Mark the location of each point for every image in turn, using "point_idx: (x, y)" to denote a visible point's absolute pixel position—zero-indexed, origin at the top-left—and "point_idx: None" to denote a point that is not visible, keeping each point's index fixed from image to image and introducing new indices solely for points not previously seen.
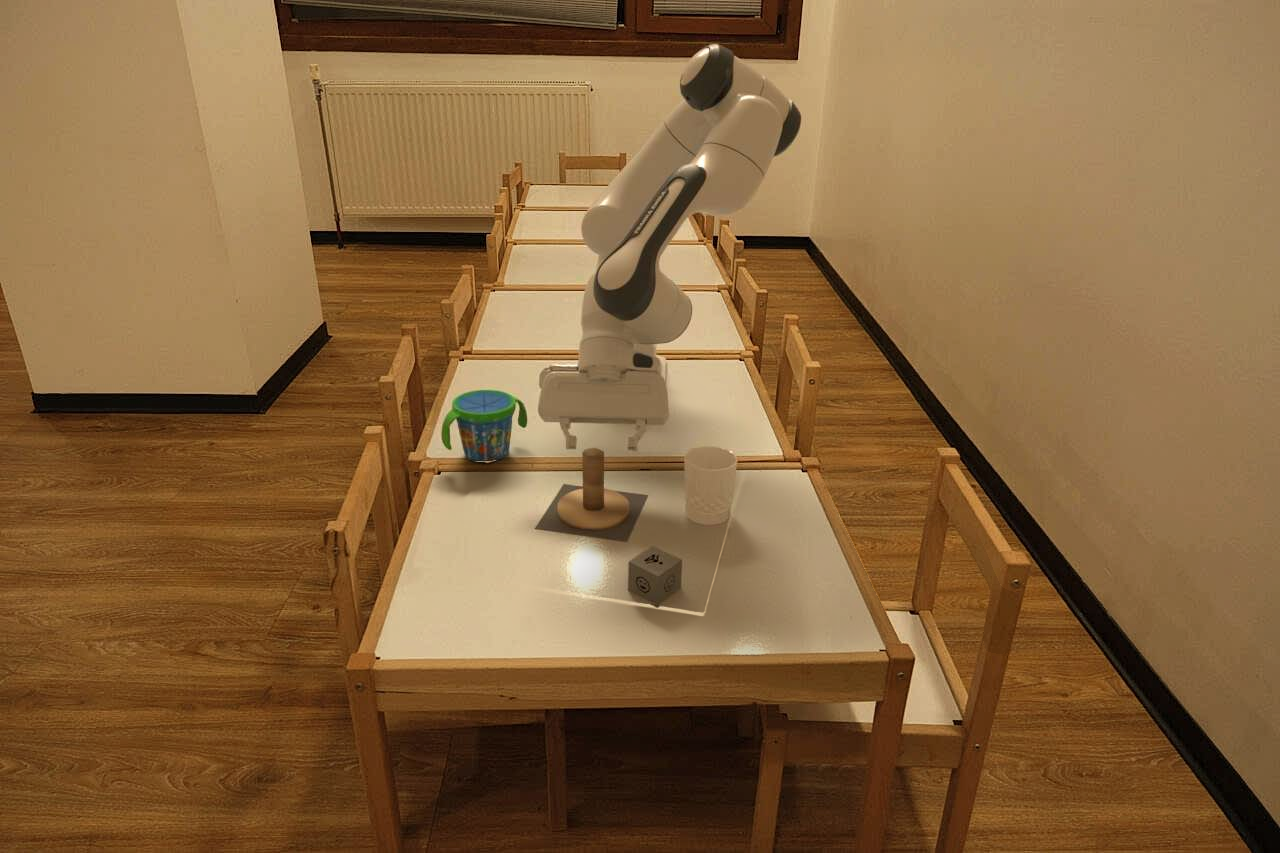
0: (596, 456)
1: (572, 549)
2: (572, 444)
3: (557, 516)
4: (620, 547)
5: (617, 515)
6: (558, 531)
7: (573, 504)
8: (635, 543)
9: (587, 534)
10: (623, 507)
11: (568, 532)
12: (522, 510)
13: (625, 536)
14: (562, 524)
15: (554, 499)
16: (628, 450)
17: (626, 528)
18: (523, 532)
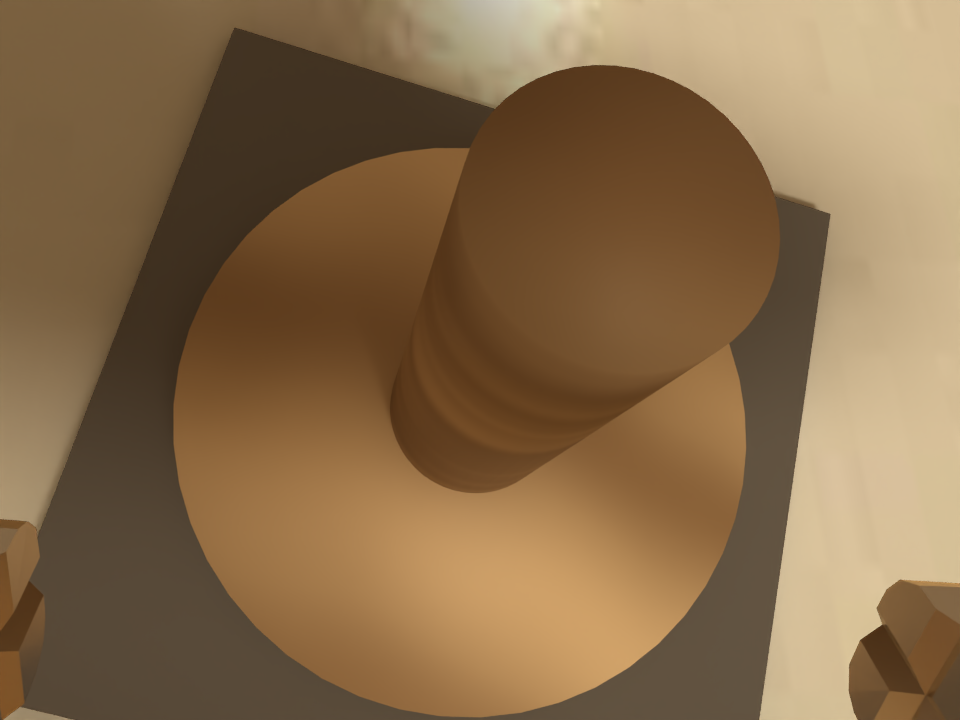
0: (568, 105)
1: (575, 18)
2: (956, 586)
3: None
4: (281, 11)
5: (285, 259)
6: None
7: (629, 425)
8: (176, 44)
9: None
10: (228, 373)
11: None
12: (949, 473)
13: (239, 85)
14: None
15: (770, 597)
16: (36, 609)
17: (225, 179)
18: (882, 210)
